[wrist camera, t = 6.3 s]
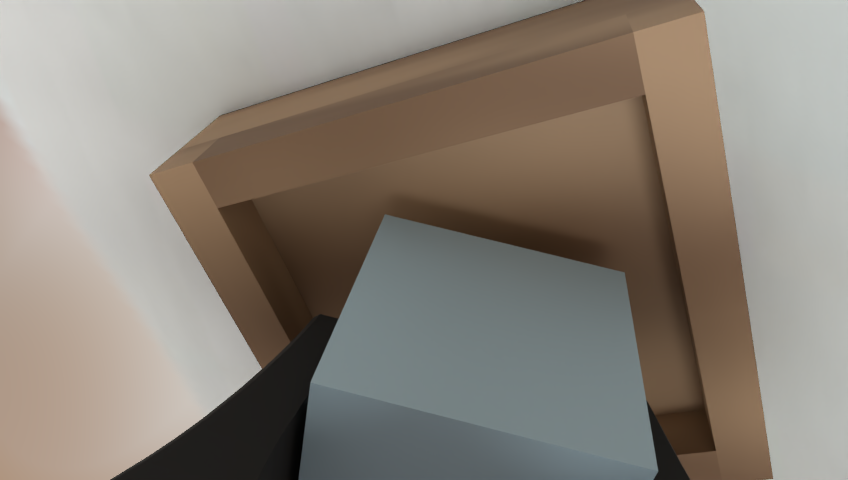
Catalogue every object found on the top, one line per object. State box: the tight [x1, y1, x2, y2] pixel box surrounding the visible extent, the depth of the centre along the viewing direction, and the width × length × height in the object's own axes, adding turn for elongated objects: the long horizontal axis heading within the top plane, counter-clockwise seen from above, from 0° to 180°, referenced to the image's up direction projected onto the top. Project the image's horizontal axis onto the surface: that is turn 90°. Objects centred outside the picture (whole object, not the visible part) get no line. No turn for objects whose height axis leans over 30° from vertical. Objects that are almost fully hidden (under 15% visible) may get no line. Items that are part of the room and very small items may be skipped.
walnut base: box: [149, 0, 773, 480], centre depth 15 cm, size 10×10×3 cm
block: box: [299, 214, 658, 480], centre depth 11 cm, size 4×4×4 cm
